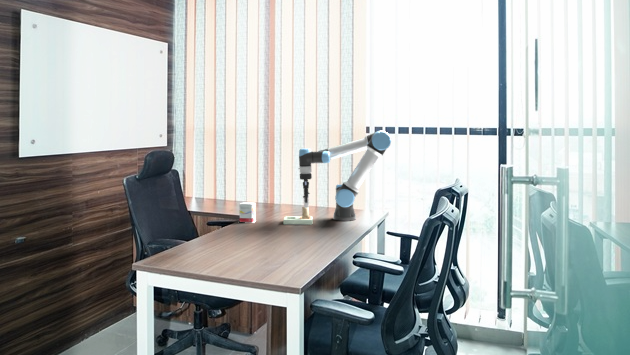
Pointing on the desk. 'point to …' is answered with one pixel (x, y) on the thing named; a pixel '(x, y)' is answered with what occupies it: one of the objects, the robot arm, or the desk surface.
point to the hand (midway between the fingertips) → (306, 206)
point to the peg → (305, 213)
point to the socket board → (298, 220)
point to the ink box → (247, 212)
